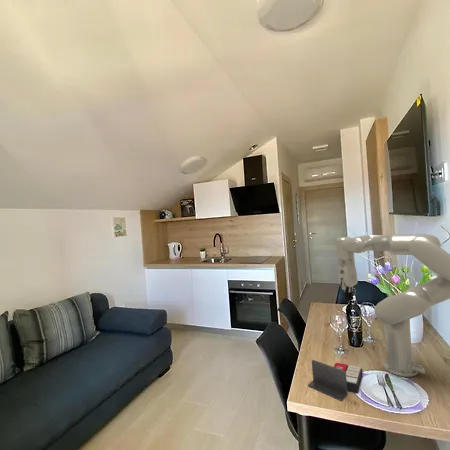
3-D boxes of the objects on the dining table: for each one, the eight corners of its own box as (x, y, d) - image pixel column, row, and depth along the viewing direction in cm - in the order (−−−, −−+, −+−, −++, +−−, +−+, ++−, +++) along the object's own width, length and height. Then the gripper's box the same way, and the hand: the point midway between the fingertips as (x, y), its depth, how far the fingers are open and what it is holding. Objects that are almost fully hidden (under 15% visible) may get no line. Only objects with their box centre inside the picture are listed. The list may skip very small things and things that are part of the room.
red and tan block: (362, 366, 117) (357, 382, 105) (363, 376, 117) (358, 394, 104) (335, 361, 123) (327, 376, 111) (335, 371, 123) (328, 387, 110)
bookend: (347, 395, 104) (345, 371, 104) (341, 401, 101) (339, 376, 101) (314, 381, 115) (313, 359, 115) (308, 386, 112) (306, 364, 112)
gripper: (346, 265, 126) (349, 304, 126) (360, 260, 136) (363, 297, 136) (331, 264, 132) (334, 302, 132) (345, 259, 142) (348, 295, 142)
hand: (349, 299), depth 134 cm, fingers closed
